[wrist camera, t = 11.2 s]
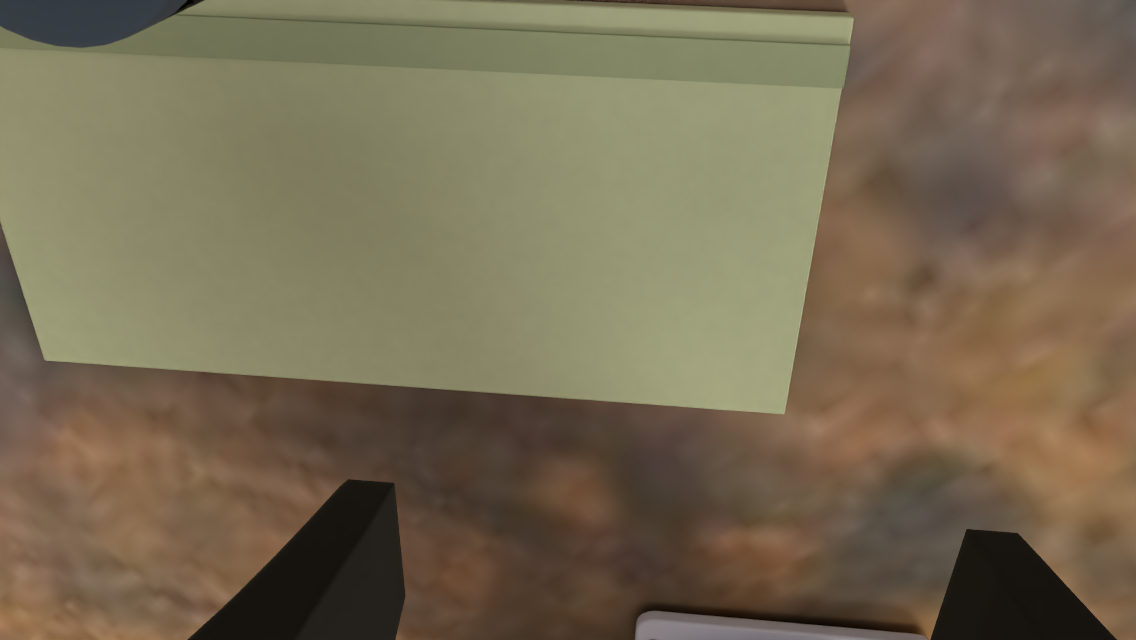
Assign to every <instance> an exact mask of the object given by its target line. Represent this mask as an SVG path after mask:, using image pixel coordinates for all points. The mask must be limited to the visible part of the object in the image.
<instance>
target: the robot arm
mask: <svg viewBox="0 0 1136 640" xmlns="http://www.w3.org/2000/svg"><path fill="white" fill-rule="evenodd" d="M404 599H405V588H404V577H403V567H402V557H401V546H400V536H399V526H398V515H397V505H396V494H395V484H394V483H387V482H374V481H362V480H349V479H348V480H347V481H346V482H345V483H343V484H342V485H341V486H340V487H339V488H338V489H337V490H336V491H335V492H334V493H333V495H332V496H331V497H330V498H329V499H328V500H327V501H326V502H325V503H324V504H323V505H322V507H321V508H320V509H319V510H318V511H317V512H316V513H315V514H314V515H313V516H312V517H311V518H310V520H309V521H308V522H307V523H306V524H305V525H304V526H303V527H302V528H301V529H300V530H299V531H298V532H297V533H296V535H295V536H294V537H293V538H292V539H291V540H290V541H289V542H288V543H287V544H286V545H285V546H284V547H283V548H282V549H281V550H280V551H279V552H278V553H277V554H276V556H275V557H274V558H273V559H272V560H271V561H270V562H269V563H268V564H267V565H266V566H265V567H264V568H263V569H262V570H261V571H260V572H259V573H258V574H257V575H256V576H255V577H254V578H253V579H252V580H251V581H250V582H249V583H248V584H247V585H246V586H245V587H244V588H242V589H241V590H240V591H239V592H238V593H237V594H236V595H235V596H234V597H233V598H232V599H231V600H230V601H229V602H228V603H227V604H226V605H225V606H224V607H223V608H222V609H221V610H220V611H218V612H217V613H216V614H215V615H214V616H213V617H212V618H211V619H210V620H209V621H207V622H206V623H205V624H204V625H203V626H202V627H201V628H200V629H199V630H198V631H197V632H195V633H194V634H193V635H192V636H191V637H190V638H189V639H188V640H395V638H396V634H397V630H398V625H399V621H400V617H401V612H402V608H403V604H404ZM652 639H654V640H929V639H928V638H926V637H925V636H923V635H919V634H913V633H901V632H890V631H879V630H867V629H856V628H845V627H833V626H822V625H811V624H799V623H788V622H777V621H766V620H754V619H743V618H732V617H720V616H709V615H698V614H686V613H675V612H664V611H648V612H645V613H642V614H641V615H640V616H639V617H638V619H637V622H636V632H635V640H652ZM931 640H1117V639H1116V638H1115V637H1114V636H1113V635H1112V634H1111V633H1110V632H1109V631H1108V630H1107V629H1106V628H1105V627H1104V626H1103V625H1102V624H1101V623H1100V621H1099V620H1098V619H1097V618H1096V617H1095V616H1094V615H1093V614H1092V613H1091V612H1090V611H1089V610H1088V608H1087V607H1086V606H1085V605H1084V604H1083V603H1082V602H1081V601H1080V600H1079V599H1078V598H1077V597H1076V596H1075V594H1074V593H1073V592H1072V591H1071V590H1070V589H1069V588H1068V587H1067V586H1066V585H1065V584H1064V582H1063V581H1062V580H1061V579H1060V578H1059V577H1058V576H1057V575H1056V574H1055V573H1054V572H1053V570H1052V569H1051V568H1050V567H1049V566H1048V565H1047V564H1046V563H1045V562H1044V561H1043V560H1042V559H1041V557H1040V556H1039V555H1038V554H1037V553H1036V552H1035V551H1034V550H1033V549H1032V548H1031V547H1030V546H1029V545H1028V544H1027V542H1026V541H1025V540H1024V539H1023V538H1022V537H1021V536H1020V535H1019V534H1018V533H1009V532H996V531H984V530H971V529H967V530H966V533H965V536H964V539H963V542H962V545H961V548H960V551H959V554H958V557H957V560H956V563H955V566H954V569H953V573H952V576H951V579H950V582H949V585H948V588H947V591H946V594H945V597H944V600H943V603H942V606H941V609H940V612H939V615H938V618H937V621H936V624H935V628H934V631H933V634H932V637H931Z"/></svg>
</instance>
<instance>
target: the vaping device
mask: <svg viewBox="0 0 1136 640" xmlns="http://www.w3.org/2000/svg"><path fill="white" fill-rule="evenodd" d="M202 1H204V0H0V26H1V27H2V28H4V29H6V30H8V31H11V32H13V33H16V34H18V35H20V36H23V37H25V38H28V39H30V40H33V41H37V42H42V43H46V44H50V45H54V46H61V47H76V48H86V47H94V46H102V45H107V44H110V43H113V42H116V41H119V40H122V39H125V38H128V37H130V36H132V35H134V34H136V33H138V32H140V31H142V30H144V29H147V28H149V27H151V26H153V25H155V24H157V23H158V22H161V21H163V20H165V19H167V18H169V17H171V16H173V15H175V14H178V13H180V12H182V11H184V10H186V9H188V8H190V7H192V6H194V5H196V4H198V3H200V2H202ZM187 5H188V6H187Z"/></svg>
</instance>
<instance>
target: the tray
mask: <svg viewBox="0 0 1136 640" xmlns="http://www.w3.org/2000/svg"><path fill="white" fill-rule="evenodd" d="M187 6H188V5H187ZM853 22H854V17H853V16H852V14H851V13H849V12H825V11H802V10H779V9H755V8H732V7H709V6H685V5H662V4H639V3H615V2H592V1H568V0H204V1H202V2H200V3H198V4H196V5H194V6H192V7H190V8H188V9H186V10H184V11H182V12H180V13H178V14H175V15H173V16H171V17H169V18H167V19H165V20H163V21H161V22H158V23H157V24H155V25H153V26H151V27H149V28H147V29H144V30H142V31H140V32H138V33H136V34H134V35H132V36H130V37H128V38H125V39H122V40H119V41H116V42H113V43H110V44H107V45H102V46H94V47H86V48H76V47H61V46H54V45H50V44H46V43H42V42H37V41H33V40H30V39H28V38H25V37H23V36H20V35H18V34H16V33H13V32H11V31H8V30H6V29H4V28H2V27H1V26H0V222H1V225H2V229H3V232H4V235H5V238H6V241H7V244H8V247H9V250H10V254H11V257H12V260H13V263H14V266H15V269H16V272H17V275H18V278H19V282H20V285H21V288H22V291H23V294H24V297H25V300H26V303H27V307H28V310H29V313H30V316H31V319H32V322H33V325H34V328H35V332H36V335H37V338H38V341H39V344H40V347H41V350H42V353H43V356H44V359H45V360H48V361H62V362H75V363H89V364H103V365H117V366H130V367H144V368H158V369H172V370H185V371H199V372H213V373H226V374H240V375H254V376H268V377H281V378H295V379H309V380H322V381H336V382H350V383H364V384H377V385H391V386H405V387H418V388H432V389H446V390H460V391H473V392H487V393H501V394H514V395H528V396H542V397H556V398H569V399H583V400H597V401H610V402H624V403H638V404H652V405H665V406H679V407H693V408H706V409H720V410H734V411H748V412H761V413H775V414H784V413H785V408H786V403H787V397H788V391H789V386H790V380H791V374H792V369H793V363H794V357H795V352H796V346H797V340H798V335H799V329H800V323H801V318H802V312H803V306H804V301H805V295H806V289H807V284H808V278H809V272H810V267H811V261H812V255H813V250H814V244H815V238H816V232H817V227H818V221H819V215H820V210H821V204H822V198H823V193H824V187H825V181H826V176H827V170H828V164H829V159H830V153H831V147H832V142H833V136H834V130H835V125H836V119H837V113H838V108H839V102H840V96H841V91H842V89H843V88H844V82H845V77H846V71H847V65H848V60H849V54H850V48H851V46H850V39H851V34H852V28H853Z"/></svg>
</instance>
